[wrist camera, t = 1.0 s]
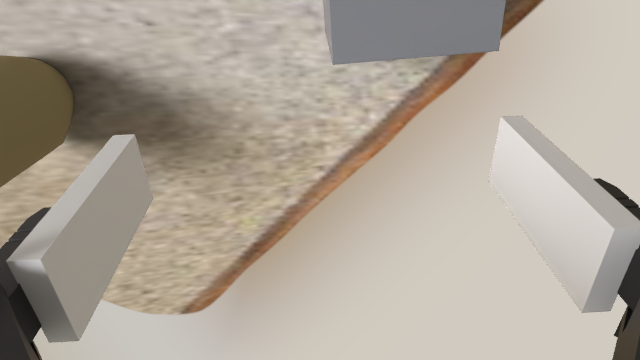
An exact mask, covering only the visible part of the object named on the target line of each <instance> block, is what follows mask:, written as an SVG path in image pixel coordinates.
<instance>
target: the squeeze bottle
mask: <svg viewBox="0 0 640 360" xmlns="http://www.w3.org/2000/svg"><path fill="white" fill-rule="evenodd" d="M73 108H74V100H73V92H72V90H71V88H70V86H69V84H68V82H67V80H66V79H65V78H64V77H63V76H62V75H61V74H60V73H59V72H58V71H57V70H56V69H55V68H54V67H52V66H50V65H48V64H46V63H44V62H42V61H41V60H37V59H32V58H26V57H15V56H0V187H2V186H3V185H4V184H6V183H7V182H9V181H10V180H12V179H13V178H14V177H16V176H17V175H19V174H20V173H22V172H23V171H24V170H26V169H27V168H29V167H30V166H32V165H33V164H34V163H36V162H37V161H39V160H40V159H42V158H43V157H44V156H46V155H47V154H49V153H50V152H51V151H53V150H54V149H56V148H57V147H58V146H60V145H61V144H62V143H63V142H64V139H65V137H66V135H67V132H68V130H69V128H70V123H71V118H72V113H73Z"/></svg>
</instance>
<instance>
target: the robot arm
mask: <svg viewBox="0 0 640 360" xmlns="http://www.w3.org/2000/svg"><path fill="white" fill-rule="evenodd" d="M489 183H490V185H491V186H492V188H493V189H494V190H495V192H496V193H497V195H498V196H499V197H500V199H501V200H502V202H503V203H504V204H505V206H506V207H507V208H508V210H509V211H510V213H511V214H512V216H513V217H514V218H515V220H516V221H517V223H518V224H519V225H520V227H521V228H522V230H523V231H524V233H525V234H526V235H527V237H528V238H529V240H530V241H531V242H532V244H533V245H534V247H535V248H536V249H537V251H538V252H539V253H540V255H541V256H542V258H543V259H544V260H545V262H546V263H547V265H548V266H549V268H550V269H551V270H552V272H553V273H554V275H555V276H556V277H557V279H558V280H559V282H560V283H561V284H562V286H563V287H564V288H565V290H566V291H567V292H568V294H569V295H570V297H571V298H572V300H573V301H574V303H575V304H576V305H577V307H578V308H579V310H580V311H581V312H582V313H585V312H604V311H611V309H612V307H613V304H614V302H615V300H616V297H617V295H618V294H619V295H620V297H621V298H622V299H623V300H624V301H625V302H626V304H627V305H628V306H627V308H626V311H625V313H624V315H623V317H622V319H621V321H620V323H619V326H618V328H617V330H616V332H615V334H614V336H616V337H618V339H617V343H616V347H615V352H614V355H613V359H612V360H640V208H639V207H638V205H637V204H636V203H635V202H634V201H633V200H631V199H629V197H628V196H627V195H625V194H624V193H623V192H622V191H621V190H620V189H618V188H617V187H615V186H614V185H612V184H610V183H607V182H606V181H603V180H602V179H600V178H599V179H592V178H591V177H590V176H589V175H588V174H587V173H586V172H585V171H583V170H582V169H581V168H580V167H579V166H578V165H577V164H576V163H574V162H573V161H572V160H571V159H570V158H569V157H568V156H567V155H566V154H564V153H563V152H562V151H561V150H560V149H559V148H558V147H557V146H555V145H554V144H553V143H552V142H551V141H550V140H549V139H548V138H546V137H545V136H544V135H543V134H542V133H541V132H540V131H539V130H538V129H536V128H535V127H534V126H533V125H532V124H531V123H530V122H529V121H527V120H526V119H525V118H524V117H523V116H504V117H501V119H500V124H499V130H498V135H497V140H496V145H495V150H494V156H493V161H492V166H491V171H490V177H489ZM152 200H153V197H152V194H151V190H150V187H149V183H148V179H147V176H146V172H145V169H144V165H143V161H142V158H141V154H140V151H139V147H138V143H137V140H136V136H135V134H130V135H113V136H112V137H111V139H110V140H109V141H108V142H107V143H106V144H105V146H104V147H103V148H102V149H101V150H100V151H99V153H98V154H97V155H96V156H95V157H94V159H93V160H92V161H91V162H90V163H89V164H88V166H87V167H86V168H85V169H84V170H83V171H82V173H81V174H80V175H79V176H78V177H77V178H76V180H75V181H74V182H73V183H72V184H71V185H70V187H69V188H68V189H67V190H66V191H65V193H64V194H63V195H62V196H61V197H60V198H59V200H58V201H57V202H56V203H55V204H54V205H53V207H50V208H43V209H41V210H40V211H38V212H37V213H35V214H34V215H32V216H31V217H29V218H28V219H27V220H26V221H25V222H24V223H23V224H22V225H21V226H20V228H19V229H18V230H17V232H15V233H14V234H13V235H12V236H11V238H10V239H9V242H6V243H5V244H4V245H3V246H2V248H1V249H0V360H42V358H41V356H40V354H39V352H38V349H37V347H36V345H35V344H34V342H33V339H34V337H35V336H36V334H37V332H38V331H39V329H40V328H42V330H43V331H44V334H45V336H46V337H47V339H48V341H49V342H67V341H79V340H80V338H81V336H82V334H83V332H84V330H85V329H86V327H87V325H88V323H89V321H90V319H91V317H92V315H93V313H94V311H95V309H96V307H97V305H98V304H99V302H100V300H101V298H102V296H103V294H104V292H105V290H106V288H107V286H108V284H109V282H110V281H111V279H112V277H113V275H114V273H115V271H116V269H117V267H118V265H119V263H120V261H121V259H122V257H123V255H124V254H125V252H126V250H127V248H128V246H129V244H130V242H131V240H132V238H133V236H134V234H135V232H136V230H137V229H138V227H139V225H140V223H141V221H142V219H143V217H144V215H145V213H146V211H147V209H148V207H149V205H150V204H151V202H152Z"/></svg>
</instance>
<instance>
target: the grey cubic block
mask: <svg viewBox="0 0 640 360" xmlns="http://www.w3.org/2000/svg"><path fill="white" fill-rule="evenodd" d="M323 2H324V18H325V32H326V37H327V41H328V45H329V49H330V54H331V58H332V62H333V65H335V64H347V63H359V62H371V61H383V60H395V59H407V58H419V57H431V56H443V55H455V54H467V53H479V52H491V51H499V45H500V38H501V31H502V24H503V17H504V10H505V3H506V0H323Z"/></svg>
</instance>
